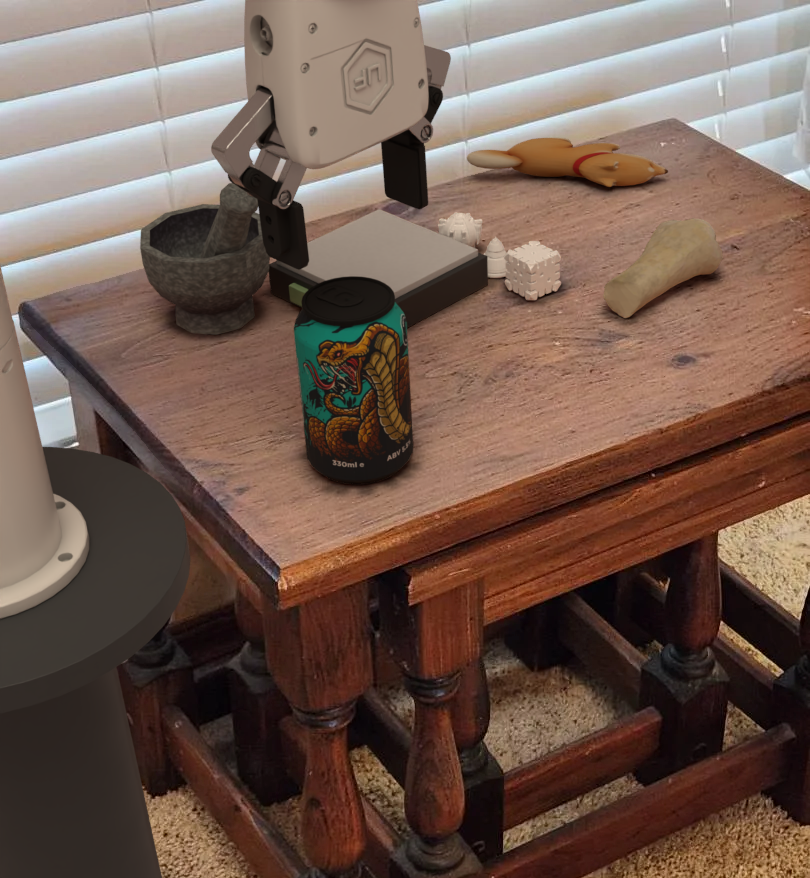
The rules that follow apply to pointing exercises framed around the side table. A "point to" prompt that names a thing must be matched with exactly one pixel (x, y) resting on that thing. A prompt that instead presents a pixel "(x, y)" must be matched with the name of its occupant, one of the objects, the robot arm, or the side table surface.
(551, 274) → the game pieces
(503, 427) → the side table surface
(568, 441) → the side table surface
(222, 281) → the mortar and pestle
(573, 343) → the side table surface
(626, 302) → the tan bone
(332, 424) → the beverage can
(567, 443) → the side table surface
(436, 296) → the scale
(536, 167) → the toy
